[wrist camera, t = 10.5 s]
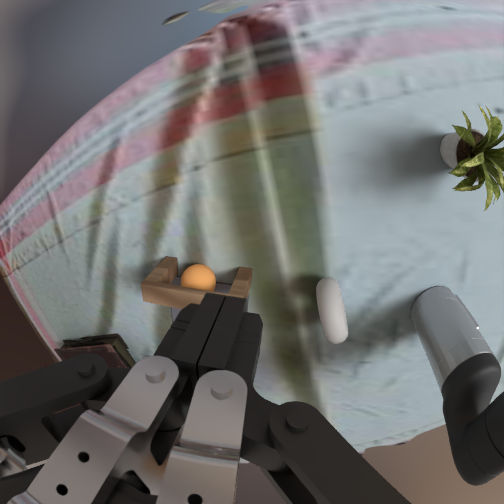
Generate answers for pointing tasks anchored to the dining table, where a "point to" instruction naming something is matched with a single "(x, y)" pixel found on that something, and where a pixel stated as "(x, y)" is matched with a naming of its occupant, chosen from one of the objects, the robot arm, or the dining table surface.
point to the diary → (99, 350)
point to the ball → (199, 278)
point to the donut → (331, 310)
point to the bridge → (166, 294)
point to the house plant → (476, 156)
